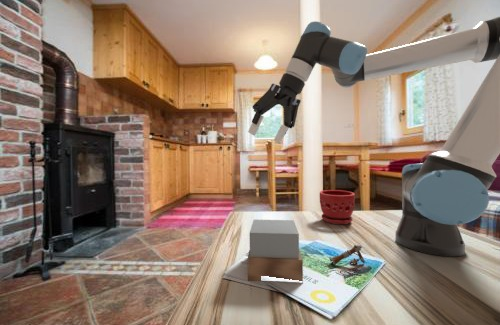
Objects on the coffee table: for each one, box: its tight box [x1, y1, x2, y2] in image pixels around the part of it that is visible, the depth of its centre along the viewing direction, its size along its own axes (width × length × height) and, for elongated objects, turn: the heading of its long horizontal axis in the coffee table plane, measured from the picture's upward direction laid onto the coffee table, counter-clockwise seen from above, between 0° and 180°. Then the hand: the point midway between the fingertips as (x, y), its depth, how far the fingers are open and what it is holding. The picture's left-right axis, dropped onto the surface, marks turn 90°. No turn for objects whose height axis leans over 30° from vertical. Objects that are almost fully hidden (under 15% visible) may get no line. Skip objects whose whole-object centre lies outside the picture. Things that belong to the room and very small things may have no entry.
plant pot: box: [319, 189, 356, 225], centre depth 85 cm, size 13×13×12 cm
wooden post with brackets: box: [328, 244, 366, 266], centre depth 50 cm, size 2×8×4 cm, turn 93°
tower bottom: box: [247, 249, 304, 282], centre depth 48 cm, size 11×11×5 cm
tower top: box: [249, 219, 300, 259], centre depth 48 cm, size 10×10×5 cm
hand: (264, 138), depth 71 cm, fingers open, 13 cm apart
